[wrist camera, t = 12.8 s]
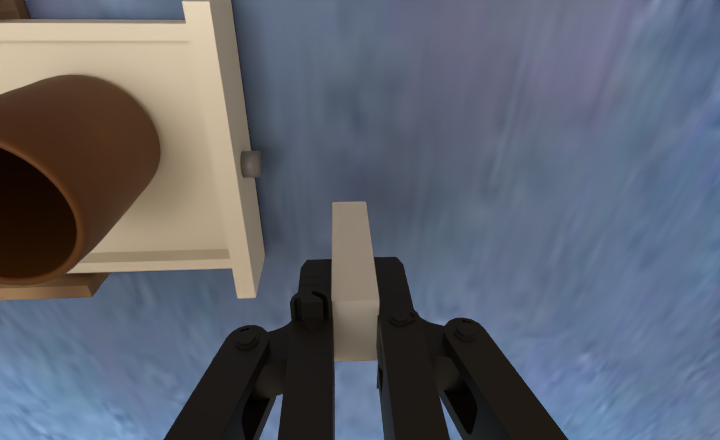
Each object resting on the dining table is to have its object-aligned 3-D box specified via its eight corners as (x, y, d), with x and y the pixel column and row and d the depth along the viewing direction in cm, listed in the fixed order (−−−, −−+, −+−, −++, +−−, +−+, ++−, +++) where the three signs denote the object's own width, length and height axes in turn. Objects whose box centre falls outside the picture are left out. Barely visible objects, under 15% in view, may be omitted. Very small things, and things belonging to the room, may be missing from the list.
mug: (36, 234, 28) (-85, 341, 20) (-65, 133, 24) (-266, 215, 16) (190, 166, 26) (127, 254, 18) (108, 47, 22) (-19, 89, 14)
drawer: (34, 263, 31) (-11, 307, 27) (-99, -6, 22) (-196, -2, 18) (278, 256, 32) (270, 297, 28) (249, -4, 23) (231, 1, 19)
